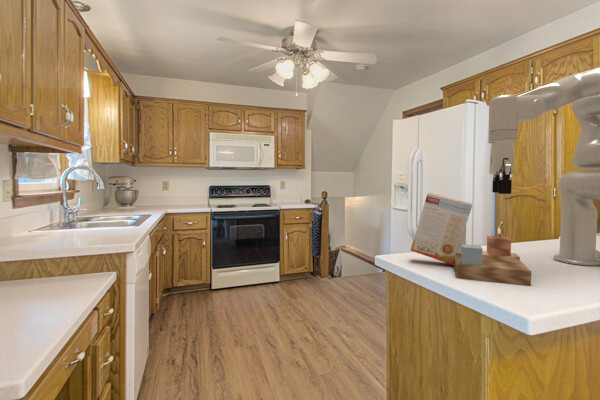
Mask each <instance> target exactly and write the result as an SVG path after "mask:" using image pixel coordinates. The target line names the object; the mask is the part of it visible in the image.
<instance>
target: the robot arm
mask: <svg viewBox="0 0 600 400" xmlns="http://www.w3.org/2000/svg"><path fill="white" fill-rule="evenodd" d="M488 103H489V104H488V141H487V143H488V144H491V145H490V152H489V153H490V154H489V155H490V156H489V169H488V170H489V171H488V172H489V175H493V176H492V184H491V186H492V190H491V191H492V193H495V194H497V193H498V194H499V195H511V194H512V182H513V181H512V179H513V177H512V173H513V172H514V158H515V157H514V155H515V154H514V151H515V150H514V149H515V147H514V143H516V142H518V133H519V132H518V131H519V130H518V127H519V123H523V122H528V121H529V122H530V121H533V120H536V119H538V118H539V117H542V115H543V114H544V113H547V112H551V111H554V110H558V109H559V108H562V107H565V106H566V105H568V104H569V105H570V104H571V110H572V112H573V115H574V116H575V118H576V120H577V122H578V124H579V127H580V128H579V129H580V132H579V135H578V140H577V143H576V146H575V150H574V153H573V157H572V163H573V166H574V167H575V168H578V169H581V170H575V171H574V170H573V171H570V172H567V173H565V174H562V176H561V177H560V179H559V182H558V190H559V195H560V202H561V212H560V231H559V232H560V234H559V236H560V237H559V249H558V250H559V251H558V253H556V254H554V255H553V259H554V260H555V261H557V262H562V263H565V264H566V263H567V264H571V265H579V266H580V265H581V266H591V267H592V266H595V267H596V266H600V251H599V250H597V249H596V247H597V234H598V233H597V232H598V231H597V230H598V229H597V228H598V210H597V207H596V206H595V204H594V203H593V201H592V200H600V66H599V67H595V68H591V69H587V70H584V71H581V72H577V73H573V74H571V75H568V76H565V77H563V78H560V79H557V80H555V81H553V82H551V83H548V84H544V85H542V86H540V87H539V86H538V87H537V88H535V89H531V90H530V91H528V92H524V93H522V94H519V95H515V94H503V95H497V96H494V97H492V98H491V99H490V100H489V102H488Z"/></svg>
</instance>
